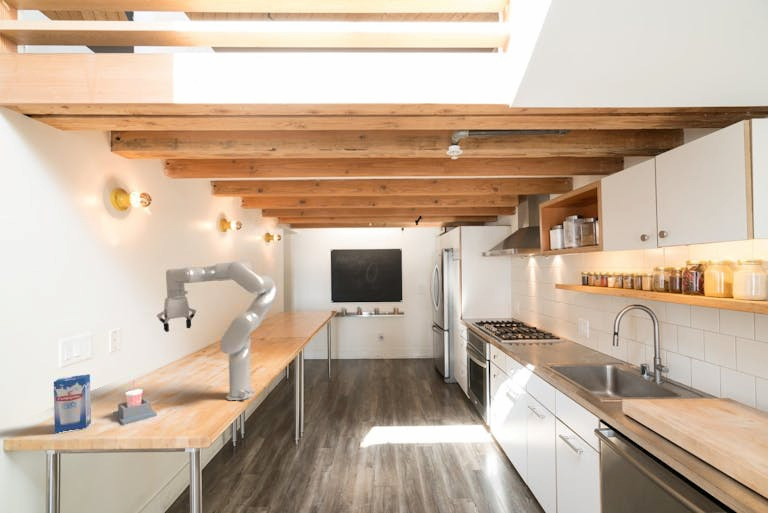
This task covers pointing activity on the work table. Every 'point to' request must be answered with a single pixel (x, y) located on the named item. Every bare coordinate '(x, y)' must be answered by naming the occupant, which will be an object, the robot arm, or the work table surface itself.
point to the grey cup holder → (134, 412)
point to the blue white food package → (72, 403)
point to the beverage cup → (134, 396)
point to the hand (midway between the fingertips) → (177, 329)
